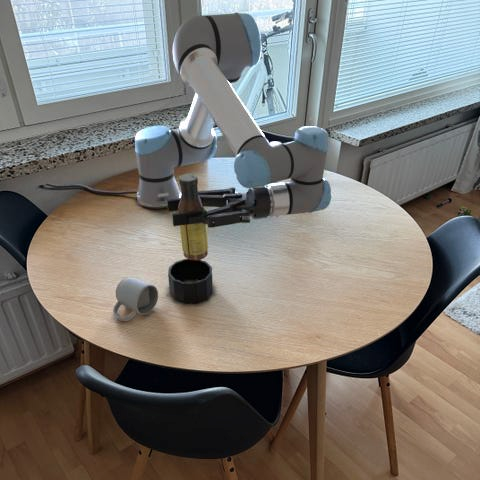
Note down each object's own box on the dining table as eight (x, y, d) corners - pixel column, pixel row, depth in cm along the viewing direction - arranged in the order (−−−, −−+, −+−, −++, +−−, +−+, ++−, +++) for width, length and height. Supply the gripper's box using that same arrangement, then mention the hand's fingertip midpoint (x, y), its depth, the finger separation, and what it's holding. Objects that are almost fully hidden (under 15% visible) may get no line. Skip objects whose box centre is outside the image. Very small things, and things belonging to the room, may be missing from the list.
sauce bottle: (212, 251, 109) (210, 174, 96) (200, 264, 105) (196, 185, 91) (189, 245, 111) (184, 169, 98) (177, 257, 107) (169, 179, 93)
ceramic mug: (136, 293, 113) (131, 268, 108) (160, 304, 110) (156, 279, 105) (106, 315, 107) (99, 291, 102) (131, 328, 103) (125, 303, 98)
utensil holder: (162, 296, 113) (159, 275, 108) (185, 274, 120) (183, 254, 116) (198, 309, 109) (197, 288, 105) (220, 285, 116) (219, 265, 112)
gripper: (279, 235, 99) (179, 249, 94) (253, 198, 113) (165, 208, 108) (282, 204, 95) (176, 217, 89) (255, 170, 108) (162, 179, 103)
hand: (170, 212), depth 99 cm, fingers closed on sauce bottle, 6 cm apart
